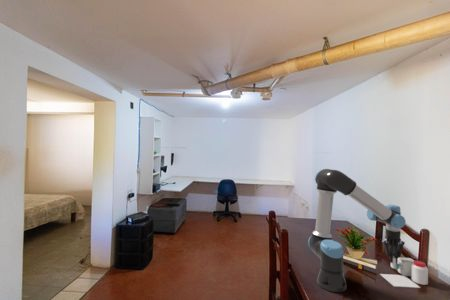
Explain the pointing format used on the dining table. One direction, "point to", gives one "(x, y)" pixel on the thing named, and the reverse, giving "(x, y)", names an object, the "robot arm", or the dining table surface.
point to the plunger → (399, 266)
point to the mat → (399, 281)
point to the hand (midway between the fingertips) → (393, 267)
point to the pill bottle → (419, 273)
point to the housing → (405, 266)
